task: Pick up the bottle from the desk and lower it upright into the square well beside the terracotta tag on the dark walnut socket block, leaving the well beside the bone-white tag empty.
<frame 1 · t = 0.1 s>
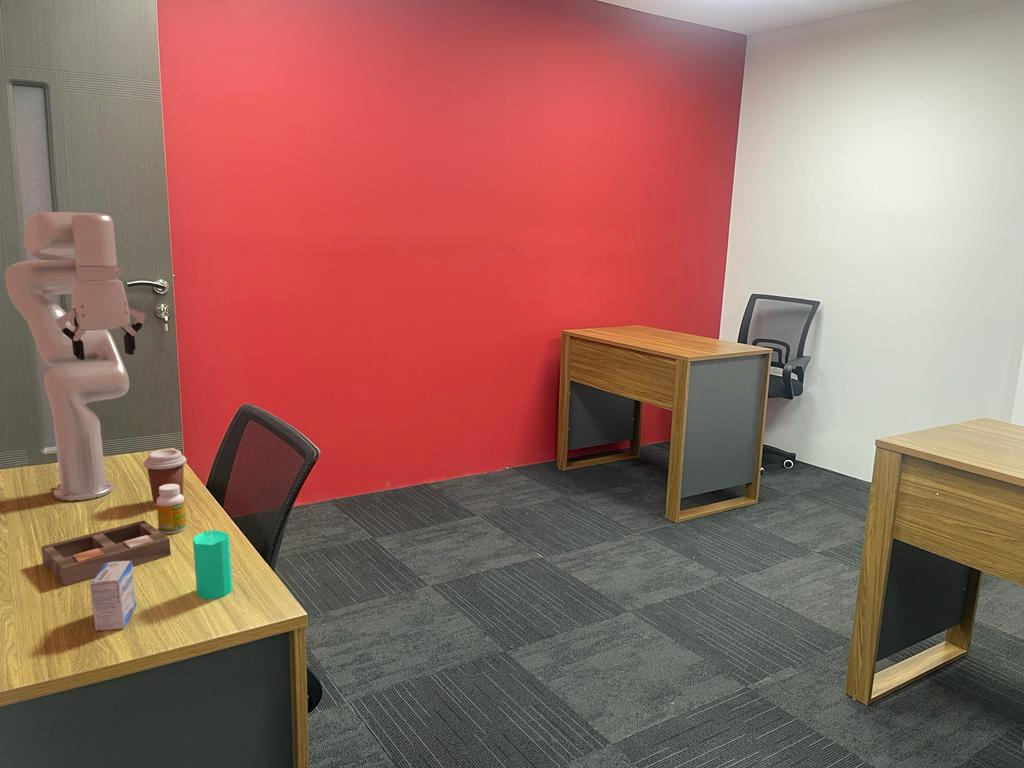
hand: (105, 356, 161), 37 cm above the table, tool pointing down, fingers open, 9 cm apart
medicine box: (116, 620, 128), on the table
coffee cup: (168, 502, 180), on the table
socket block: (108, 559, 150), on the table
candle: (215, 592, 138), on the table
supplement bottle: (172, 530, 164), on the table
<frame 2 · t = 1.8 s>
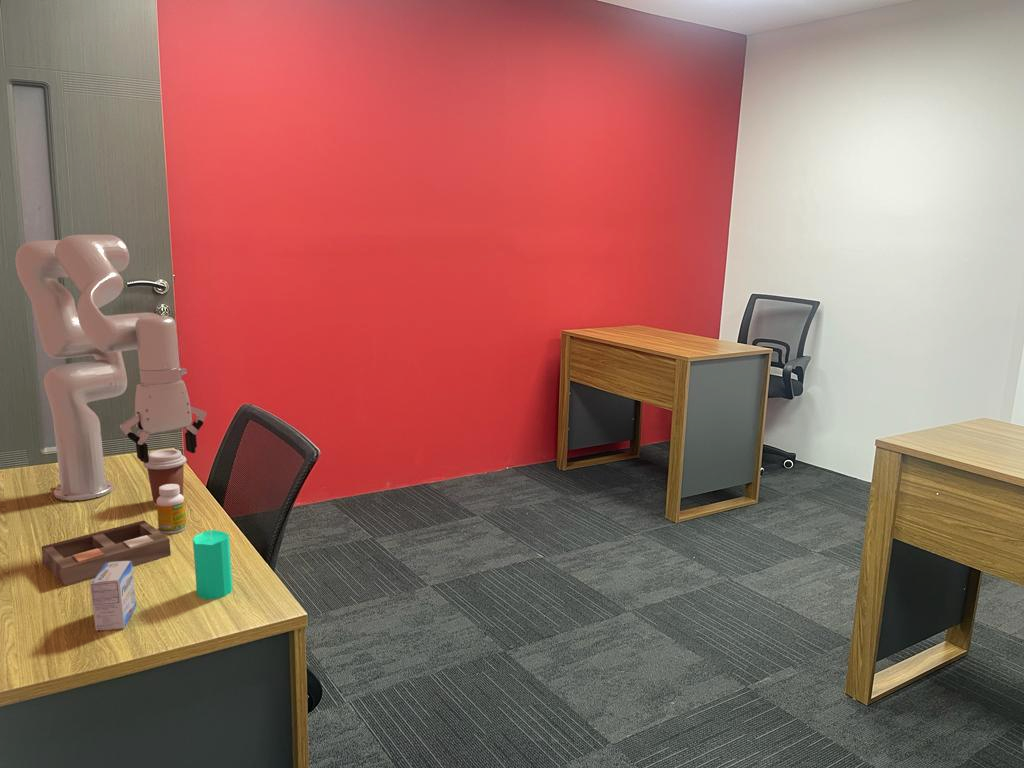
hand: (168, 456, 161), 16 cm above the table, tool pointing down, fingers open, 9 cm apart
nothing on the table moved.
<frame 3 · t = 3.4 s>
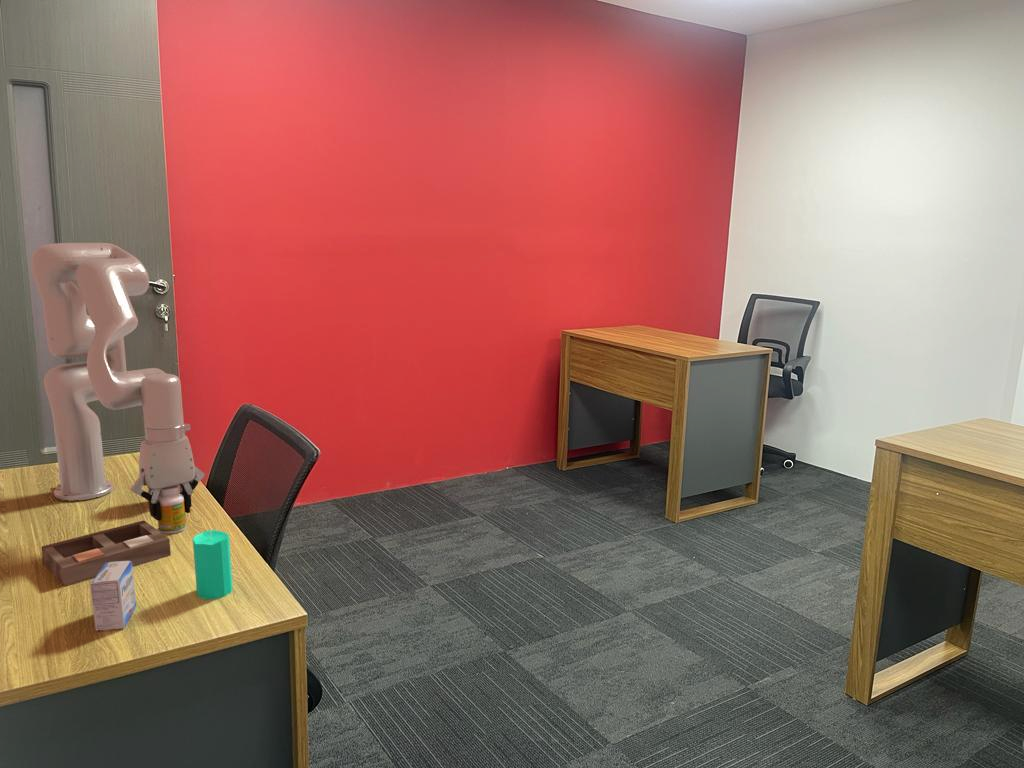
hand: (171, 514, 164), 4 cm above the table, tool pointing down, fingers closed on supplement bottle, 5 cm apart
supplement bottle: (172, 530, 164), on the table, touching gripper
everything else where it was.
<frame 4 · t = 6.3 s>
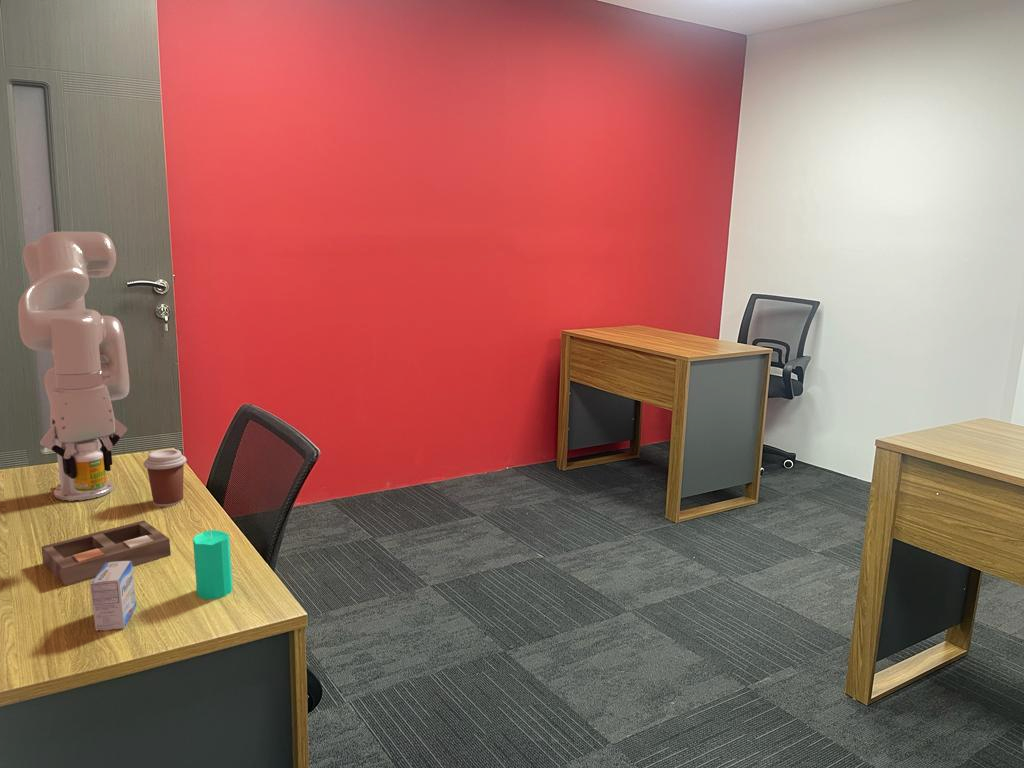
hand: (88, 472, 147), 18 cm above the table, tool pointing down, fingers closed on supplement bottle, 5 cm apart
supplement bottle: (91, 490, 148), point 14 cm above the table, touching gripper
everything else where it was.
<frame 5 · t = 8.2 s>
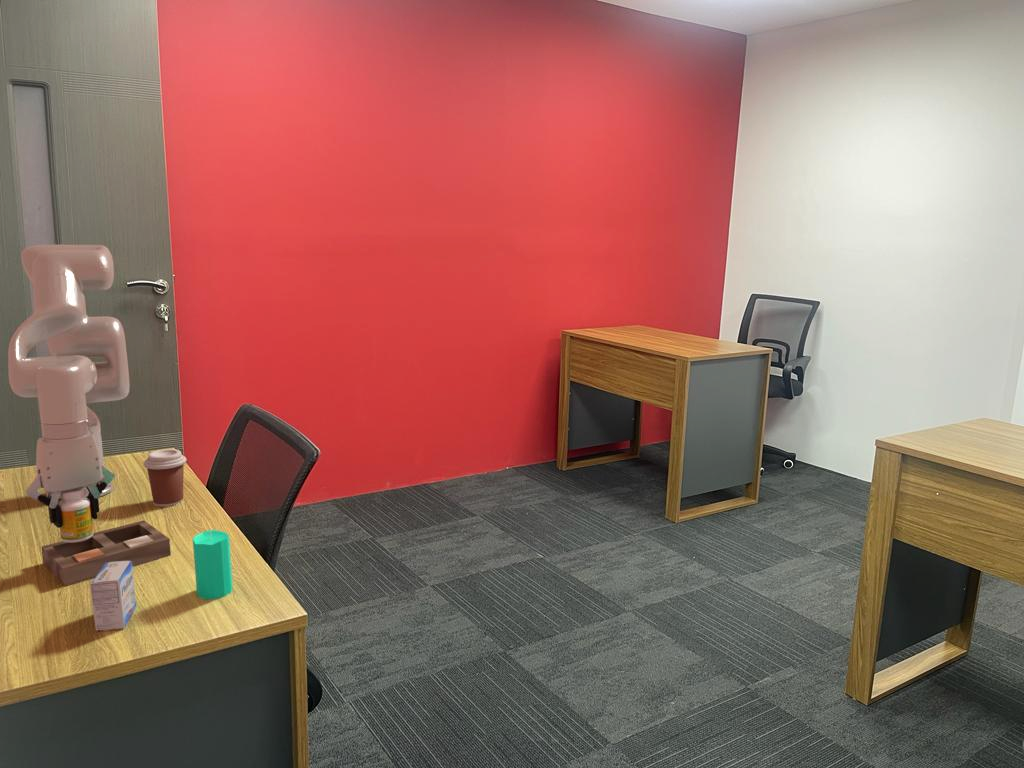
hand: (75, 520, 146), 9 cm above the table, tool pointing down, fingers closed on supplement bottle, 5 cm apart
supplement bottle: (77, 538, 146), point 5 cm above the table, touching gripper
everything else where it was.
when the fingers open (5 cm above the table, at t = 9.4 s): supplement bottle drops 1 cm, resting in socket block.
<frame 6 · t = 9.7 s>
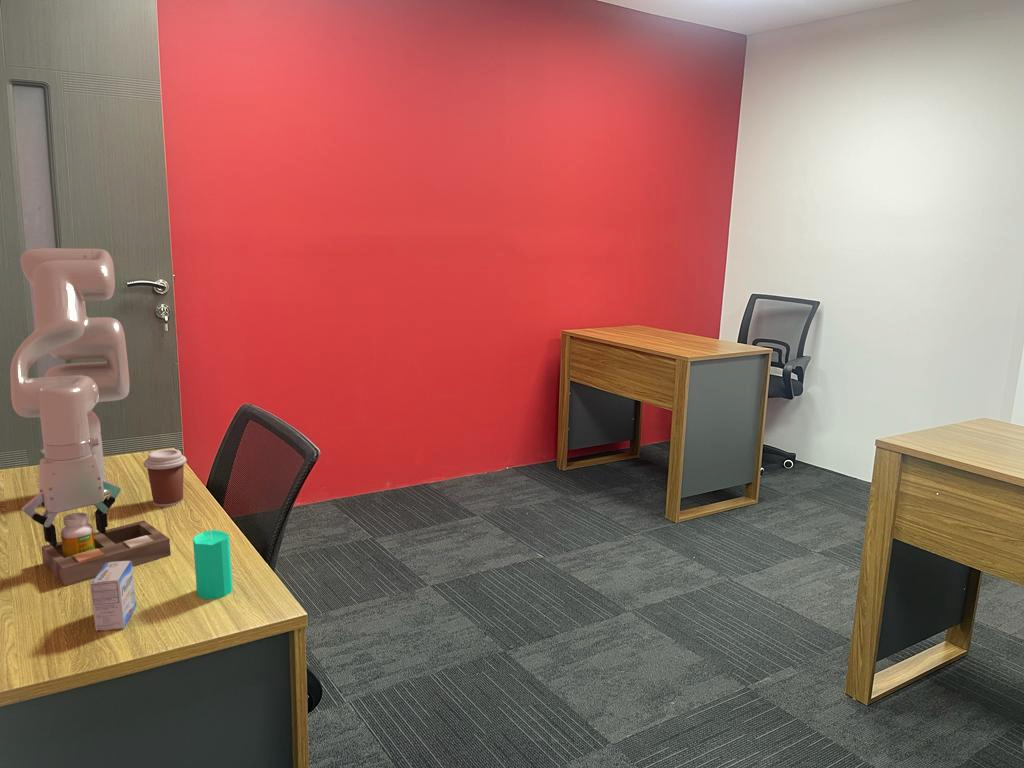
hand: (77, 537, 147), 5 cm above the table, tool pointing down, fingers open, 8 cm apart
supplement bottle: (80, 564, 148), resting in socket block
everything else where it was.
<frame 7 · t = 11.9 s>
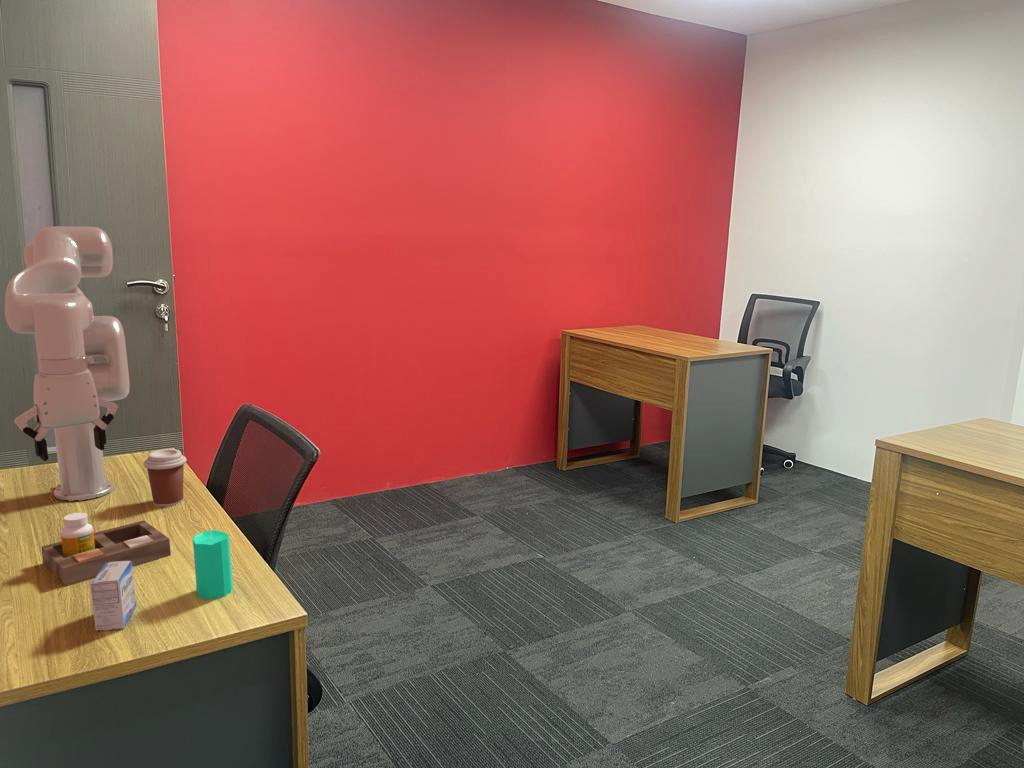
hand: (72, 453, 146), 21 cm above the table, tool pointing down, fingers open, 9 cm apart
nothing on the table moved.
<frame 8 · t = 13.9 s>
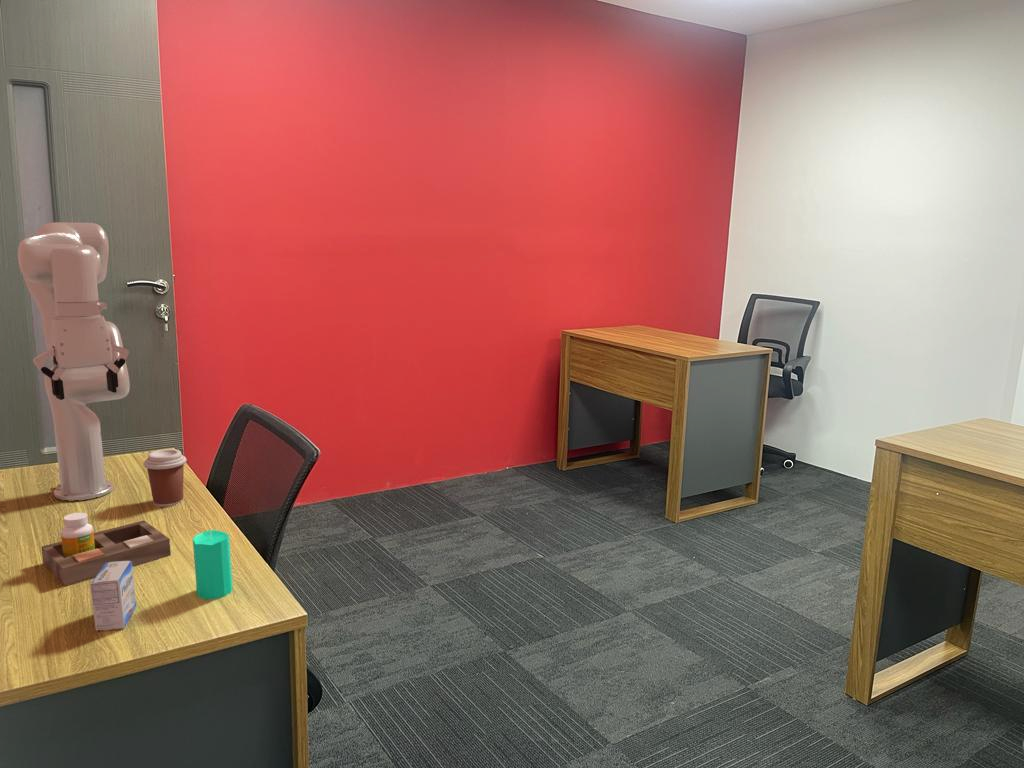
hand: (86, 394, 154), 30 cm above the table, tool pointing down, fingers open, 9 cm apart
nothing on the table moved.
at the end: supplement bottle 0.1 cm from the target spot on the socket block, point 0.0 cm above the socket block's base; supplement bottle tilted 0°; the gripper is holding nothing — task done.
